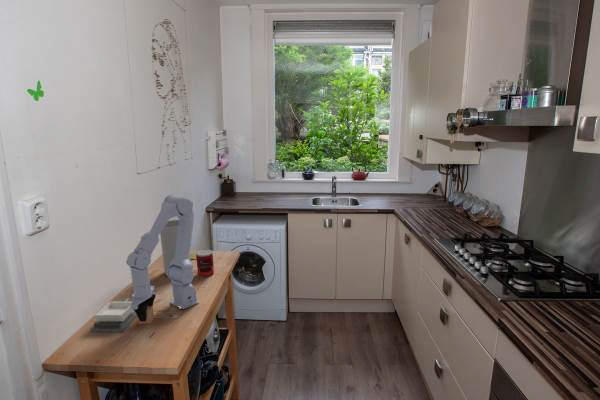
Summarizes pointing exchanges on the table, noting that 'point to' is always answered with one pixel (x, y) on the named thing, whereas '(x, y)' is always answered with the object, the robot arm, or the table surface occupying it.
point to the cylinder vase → (169, 242)
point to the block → (148, 316)
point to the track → (115, 323)
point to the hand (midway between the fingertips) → (145, 317)
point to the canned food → (205, 263)
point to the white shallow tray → (114, 312)
